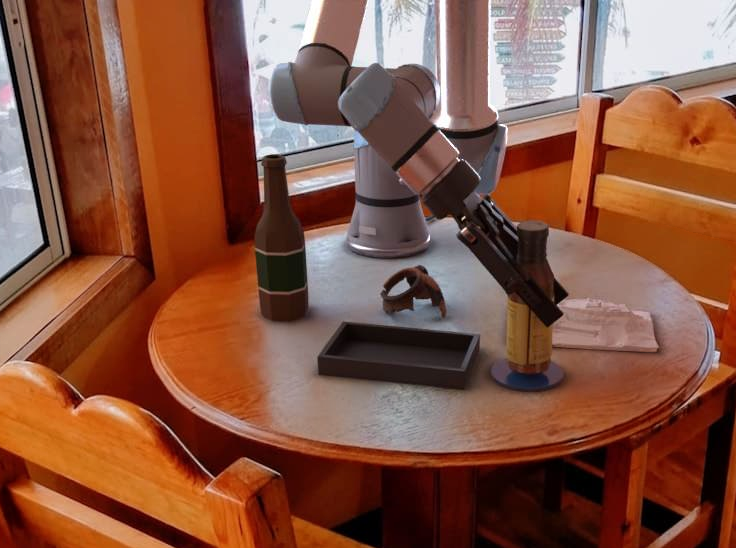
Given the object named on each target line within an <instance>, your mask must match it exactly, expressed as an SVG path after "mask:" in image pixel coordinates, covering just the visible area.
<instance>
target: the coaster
mask: <svg viewBox="0 0 736 548" xmlns="http://www.w3.org/2000/svg"><path fill="white" fill-rule="evenodd" d="M490 377H491V379H492V380H493V381H494V383H496V384H497V385H499V386H501V387H503V388H505V389H508V390H512V391H517V392H525V393H526V392H528V393H534V392H542V391H543V392H544V391H548V390H551V389H553V388H556V387H557V386H558V385H560V384H561V383H562V382H563V379H564V371H563V369H562V368H561V366H559V365H558V364H556V363H555V362H553V361H551V363H550V366H549V368H548V370H546V371H545V372H542V373H539V374H529V375H528V374H523V373H518V372H514V371H513V370H511V369H510V368H509V366H508V364H507V357H506V358H503V359H500V360H498V361H497V362H495V363H494V364H493V365H492V366H491V369H490Z"/></svg>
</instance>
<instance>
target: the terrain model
mask: <svg viewBox="0 0 736 548" xmlns="http://www.w3.org/2000/svg"><path fill="white" fill-rule="evenodd" d="M557 306H558V307H559V308H560V310H561V311H562V312H563V313H564V314H563V316H562V317H561V318H559V319H558V320H557V321H556V322H554V323H553V336H552V348H569V349H571V348H572V349H586V350H599V351H600V350H604V351H619V352H620V351H621V352H641V353H657V352H658V349H660V346H659V344H658V342H657V341H656V336H655V331H654V328H655V327H654V323H653V320H654V319H653V318H652V317H651V313H650V312H649V311H643V310H642V311H641V310H632V309H631V308H629V307H627V305H626V304H625V303H613V302H612V301H606V300H602V299H601V298H600V299H599V298H598V299H594V298H590V297H589V298H572V299H568V300H566V299H564V300H562V301H561V302H560V303H559V304H557Z"/></svg>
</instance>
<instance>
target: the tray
mask: <svg viewBox="0 0 736 548" xmlns="http://www.w3.org/2000/svg"><path fill="white" fill-rule="evenodd" d="M480 348H481V333H472V332H461V331H452V330H440V329H431V328H430V329H429V328H419V327H408V326H399V325H398V326H397V325H388V324H387V325H386V324H376V323H367V322H355V321H345V320H343V321H342V322H341V323H340V325H339V326H338V328H337V329H336V330H335V332H333V334H332V336H331V337H330V338H329V340H328V341H327V343H326V344H325V345H324V346H323V348H322V350H321V351H320V352H319V354H318V355H317V359H316V360H317V375H319V376H328V377H337V378H338V377H339V378H347V379H357V380H366V381H376V382H384V383H385V382H386V383H387V382H388V383H395V384H405V385H414V386H425V387H433V388H434V387H435V388H443V389H453V390H460V391H461V390H462V391H464V390H465V388H466V386H467V383H468V381H469V378H470V376H471V373H472V372H473V368H474V367H475V364H476V361H477V359H478V356H479V354H480V352H481V351H480Z"/></svg>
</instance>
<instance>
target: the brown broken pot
mask: <svg viewBox="0 0 736 548" xmlns="http://www.w3.org/2000/svg"><path fill="white" fill-rule="evenodd" d="M405 279H406V280H405ZM404 280H405V281H406V283H407V284H408V286H409V288H408V289H406V290H405V291H403V292H401V293H399V294H396V295H389V293H390V292H391V291H392V289H393V288H394V287H395V286H396V285H398V284H399V283H400V282H403V281H404ZM382 286H383V289H382V290H381V292H380V294H379V295H380V297H381V298H382V310H383V311H384V312H385V314H389V313H391V314H394V313H398V312H403V311H405V310H409V311H411V312H415V308H414V299H415V300H425V301H426V300H430V301H431V307H438V310H439V311H440V312H441V313H440V315H441V318H442V319H446V317H447V315H448V309H447V307H446V300H445V297H444V293H443V291H442V289H441V288H440V285H439V283H438V282H437V281H436V280H435V278H433V277H431V276H430V274H429V271H428V269H427V268H426V267H425V266H424V265H421V264H418V265H416V266H415V265H414V267H413V266H411V267H405V268H402V269H400V270H399V271H397V272H395V273H394V274H392V275H391V276H390V277H389V278H388V279H387V280H386V281H384V284H383V285H382Z"/></svg>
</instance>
